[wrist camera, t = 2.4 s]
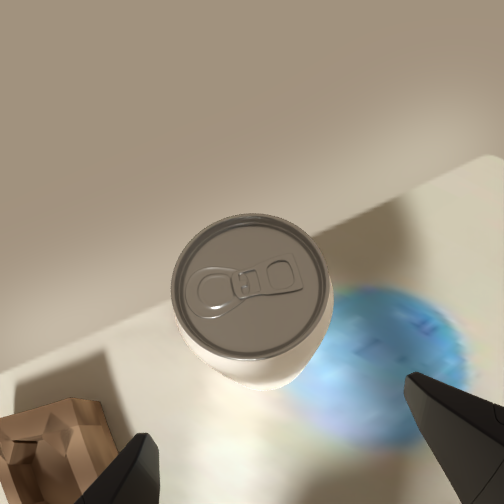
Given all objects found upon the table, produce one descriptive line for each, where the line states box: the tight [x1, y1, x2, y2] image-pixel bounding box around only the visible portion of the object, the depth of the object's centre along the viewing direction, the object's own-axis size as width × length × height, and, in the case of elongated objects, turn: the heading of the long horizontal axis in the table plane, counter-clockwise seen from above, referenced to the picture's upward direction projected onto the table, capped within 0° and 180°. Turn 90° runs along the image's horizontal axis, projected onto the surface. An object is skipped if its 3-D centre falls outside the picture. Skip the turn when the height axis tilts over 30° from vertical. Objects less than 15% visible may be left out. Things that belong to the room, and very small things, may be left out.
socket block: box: [0, 397, 118, 504], centre depth 15 cm, size 11×11×4 cm
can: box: [171, 214, 334, 391], centre depth 16 cm, size 6×6×12 cm
